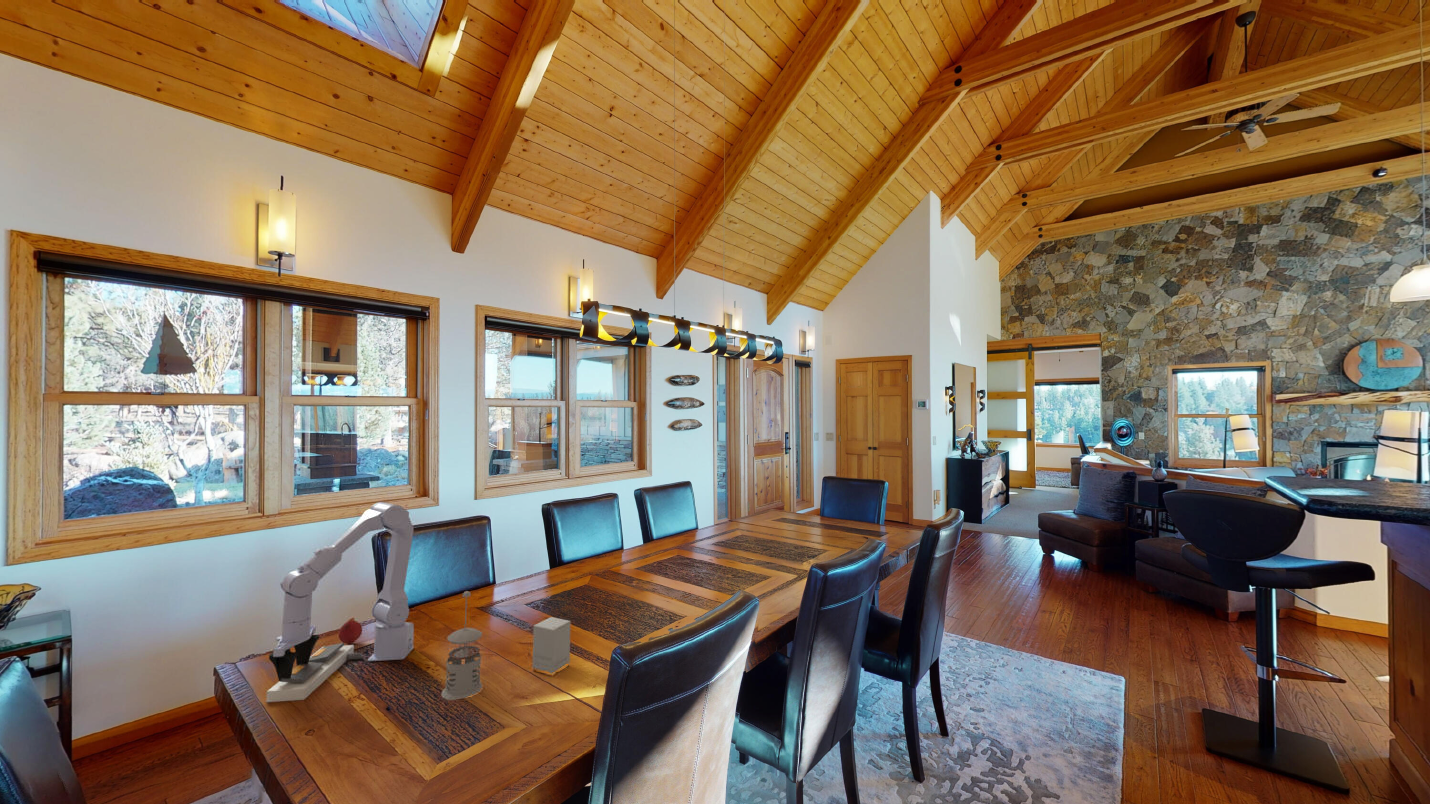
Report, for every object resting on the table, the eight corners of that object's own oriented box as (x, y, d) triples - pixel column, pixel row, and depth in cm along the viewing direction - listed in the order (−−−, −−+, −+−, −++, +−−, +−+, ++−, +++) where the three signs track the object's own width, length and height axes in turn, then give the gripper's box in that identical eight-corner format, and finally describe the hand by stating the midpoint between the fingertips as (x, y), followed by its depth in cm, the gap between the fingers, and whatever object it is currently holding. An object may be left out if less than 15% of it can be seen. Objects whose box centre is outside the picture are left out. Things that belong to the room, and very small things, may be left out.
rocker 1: (322, 665, 138) (323, 662, 138) (303, 682, 129) (304, 678, 130) (301, 664, 137) (302, 661, 137) (280, 681, 129) (281, 677, 129)
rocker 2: (344, 645, 149) (343, 641, 149) (327, 659, 140) (326, 656, 140) (324, 649, 148) (324, 646, 148) (306, 664, 139) (305, 660, 139)
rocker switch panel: (366, 653, 152) (367, 644, 153) (320, 698, 128) (320, 687, 128) (322, 655, 150) (322, 646, 150) (266, 702, 126) (266, 691, 126)
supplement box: (570, 665, 148) (571, 620, 149) (551, 677, 141) (553, 629, 142) (550, 660, 151) (551, 615, 152) (531, 670, 144) (532, 624, 145)
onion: (349, 649, 154) (350, 622, 155) (333, 647, 156) (334, 620, 156) (366, 641, 160) (367, 615, 160) (350, 639, 161) (351, 613, 162)
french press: (440, 703, 127) (445, 600, 128) (441, 682, 137) (445, 586, 138) (485, 695, 131) (489, 594, 132) (481, 674, 142) (485, 581, 143)
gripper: (296, 609, 140) (292, 660, 139) (260, 630, 126) (256, 688, 125) (325, 608, 141) (322, 659, 141) (293, 629, 127) (290, 686, 126)
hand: (293, 673), depth 133 cm, fingers open, 7 cm apart
